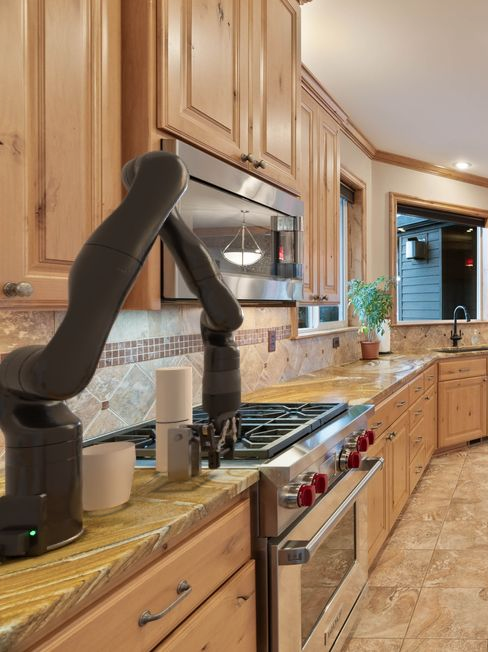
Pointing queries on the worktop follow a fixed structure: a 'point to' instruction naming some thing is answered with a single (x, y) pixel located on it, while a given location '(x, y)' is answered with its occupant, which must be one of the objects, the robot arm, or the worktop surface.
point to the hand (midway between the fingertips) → (221, 463)
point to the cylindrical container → (171, 407)
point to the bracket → (183, 454)
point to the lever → (197, 441)
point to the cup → (107, 474)
